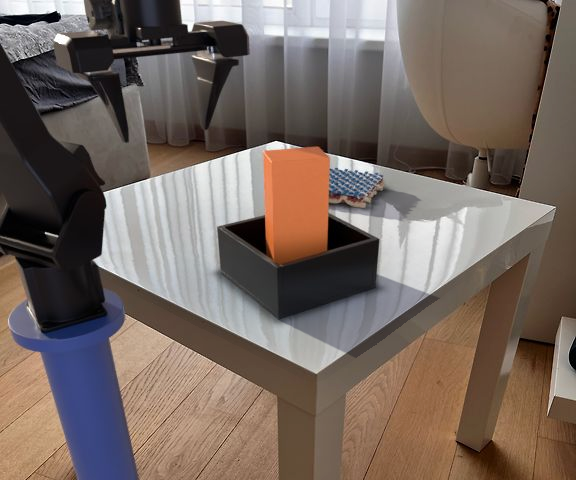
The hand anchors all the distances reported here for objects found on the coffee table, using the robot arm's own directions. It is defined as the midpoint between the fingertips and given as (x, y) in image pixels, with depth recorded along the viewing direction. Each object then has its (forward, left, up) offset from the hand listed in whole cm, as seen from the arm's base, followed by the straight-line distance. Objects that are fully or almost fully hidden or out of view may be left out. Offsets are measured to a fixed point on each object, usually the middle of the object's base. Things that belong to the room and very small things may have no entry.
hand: (166, 135), depth 66 cm
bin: (+7, -15, -13) cm, 21 cm away
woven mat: (+28, +5, -13) cm, 31 cm away
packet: (+7, -15, -12) cm, 21 cm away
